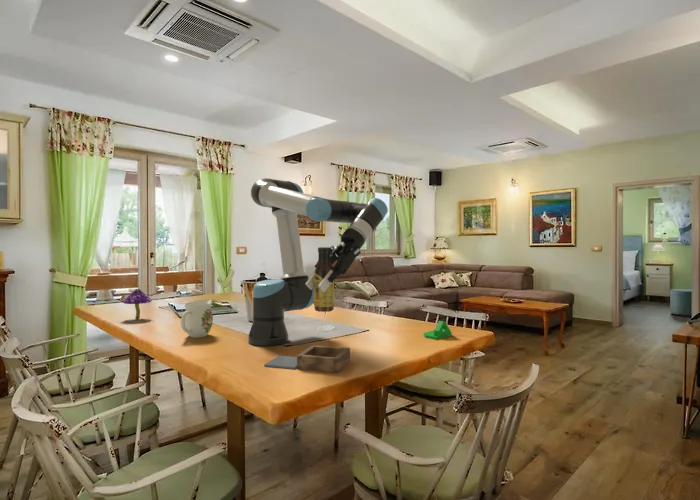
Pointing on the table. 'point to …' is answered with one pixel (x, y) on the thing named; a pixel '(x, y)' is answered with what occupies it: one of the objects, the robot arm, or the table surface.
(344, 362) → the walnut collar
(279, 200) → the robot arm
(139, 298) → the decorative mushroom
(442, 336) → the bracket
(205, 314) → the pitcher
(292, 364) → the slate coaster
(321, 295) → the sauce bottle
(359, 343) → the table surface
